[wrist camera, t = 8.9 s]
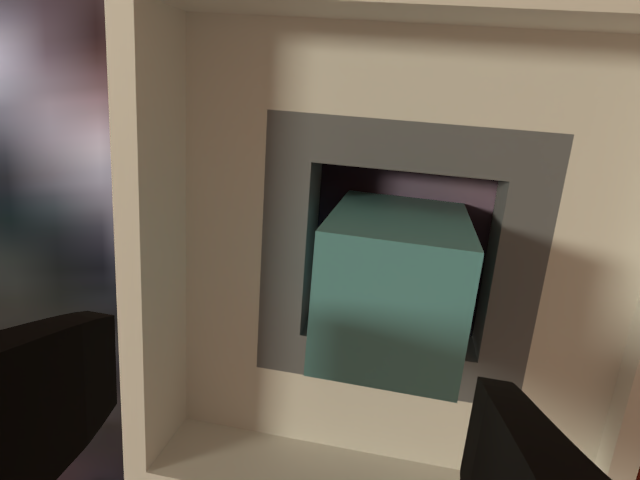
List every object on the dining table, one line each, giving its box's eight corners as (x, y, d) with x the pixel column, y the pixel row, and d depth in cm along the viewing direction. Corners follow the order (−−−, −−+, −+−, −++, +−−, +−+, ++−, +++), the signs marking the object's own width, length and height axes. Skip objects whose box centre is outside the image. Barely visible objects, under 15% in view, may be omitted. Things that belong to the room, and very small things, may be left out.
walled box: (588, 476, 19) (643, 600, 14) (189, 403, 22) (124, 487, 17) (708, 17, 15) (843, -22, 10) (189, -6, 17) (102, -46, 13)
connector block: (446, 310, 19) (457, 403, 13) (338, 294, 19) (303, 375, 14) (464, 203, 17) (484, 253, 12) (348, 190, 18) (315, 230, 12)
